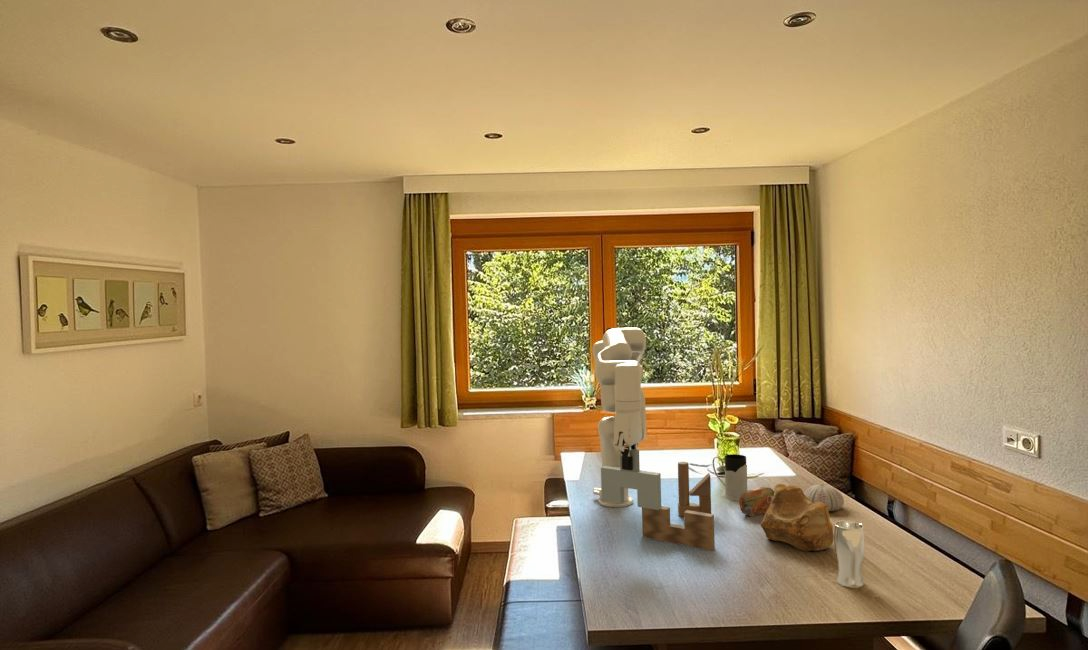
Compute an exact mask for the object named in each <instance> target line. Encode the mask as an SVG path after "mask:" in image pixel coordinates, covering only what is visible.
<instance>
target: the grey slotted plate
mask: <svg viewBox="0 0 1088 650" xmlns="http://www.w3.org/2000/svg"><path fill="white" fill-rule="evenodd" d="M626 449H627V450H628V448H626ZM631 456H633V470H624V469H622V456H621V452H620V468H618V467H610V466H603V467H602V466H601V467H600V483H601V484H600V487H601V488H600V489H601V491H602V501H606V502H612V503H618V504H621V503H623V502H624V488H628V489H631V490H636V491H637V492H636V496H637V497H636V499H637V508H642V507H643V508H649V509H655V510H659V509H660V508H661V506H662V491H661V490H662V486H661V485H662V483H661V482H662V478H661V475H662V474H661V472H653V471H648V470H640V466H641V465H640V449H638V450H634V449H631Z"/></svg>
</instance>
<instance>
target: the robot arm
mask: <svg viewBox="0 0 1088 650" xmlns="http://www.w3.org/2000/svg"><path fill="white" fill-rule="evenodd" d="M646 339H647V338H646V334H645V332H644V331H643V330H642V329H641V328H639V327H618V328H617V327H615V328H610V329H608V330H606V331H605V333H604V334H603V336H602V340H599V341H597V342H595V343H593V346H592V357H593V359H594V372H595V378H596V379H595V380H596V381H597V383H598V384H599V385H600V402H601V403H600V404H601V408H602V410H603V411H604V412H606V413H615V414H614V416H613V415H612V416H611V415H610V416H603V418H601V419H600V420H599V421H598V424H597V432H598V437H599V443H600V458H601V467H603V466H610V467H618V468H620V452H621V456H622V469H624V470H633V456H631V449H634V450H639V449H638V447H639V444H640V443H641V442H644V440H645V439H646V437H647V414H646V412H647V411H646V398H645V393H644V391H643V389H642V384H641V381H642V380H643V378H644V367H643V365H641V363H640V361H641V360H642V358H643V356H644V353H645V350H646V347H647V340H646ZM627 449H628V450H627ZM593 495H596V496H597V495H598V496H599V497H598V499H597V501H598V504H599V505H602V506H603V507H609V508H624V507H628V506H631V505H632V504H634V503H633V501H634V499H633V497H632V496H630V495H629V488H624V502H623V503H621V504H618V503H612V502H606V501H602V491H601V488H599V487H594V488H593Z"/></svg>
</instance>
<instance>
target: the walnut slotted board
mask: <svg viewBox="0 0 1088 650" xmlns="http://www.w3.org/2000/svg"><path fill="white" fill-rule="evenodd" d="M683 521H684V522H683V523H684V525H680V524H677V523H671V507H669V506H664V505H661V508H660V509H659V510H655V509H649V508H643V507H641V522H642V523H641V528H642V532H641V533H642V538H644V539H650V540H655V541H658V542H665V543H671V544H674V545H675V544H676V545H679V546H680V545H681V546H686V547H690V548H695V549H701V550H707V551H713V550H714V549H715V548H716V547H715V543H716V541H715V514H713V513H711V514H709V513H702V512H696V511H690V510H686V511H685V512H684V516H683Z"/></svg>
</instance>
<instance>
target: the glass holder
mask: <svg viewBox="0 0 1088 650" xmlns="http://www.w3.org/2000/svg"><path fill="white" fill-rule="evenodd" d="M717 458H718V459H719V460H720V462H721V467H722V469H723V470H724V481H723V480H722V479H721V477H720V476H719V475H718V473H717V471H716V467H715V459H717ZM724 463H725V464H724ZM724 465H725V466H724ZM712 469H713V471H714V474H715V476H716V478H717V479H718V480H719V481H720V483H721V484H722V485H723V486H724V487H725V489H724V490H725V493H724V497H723V498H725V499H727V500H729V501H739V502H740V497H741V495H742V493H743V492H745V491H747V490H748V465H747V456H745V455H743V454H735V453H734V454H731V453H730V454H726V455H725V456H724V460H723V459H722V457H720V456H714V457H713V459H712Z"/></svg>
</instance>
